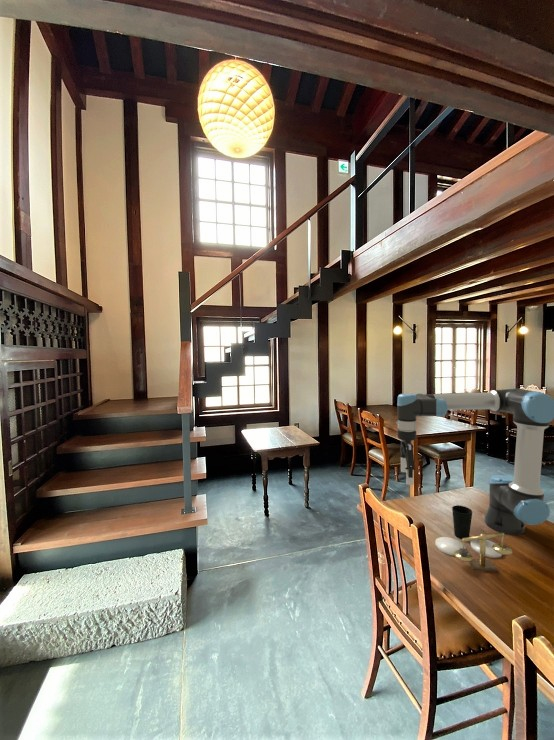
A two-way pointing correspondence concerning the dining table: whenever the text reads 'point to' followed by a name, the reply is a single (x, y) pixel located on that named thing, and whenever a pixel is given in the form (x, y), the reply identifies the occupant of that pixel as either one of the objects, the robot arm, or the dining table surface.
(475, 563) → the balance
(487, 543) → the white round plate
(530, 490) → the robot arm
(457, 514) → the cup
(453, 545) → the low side dish
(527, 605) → the dining table surface
